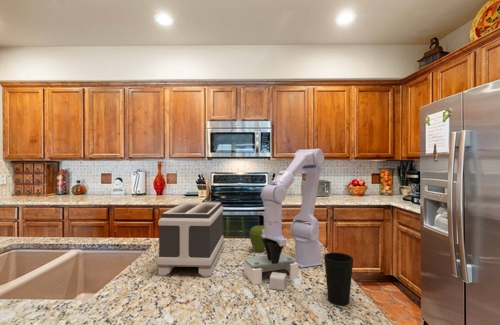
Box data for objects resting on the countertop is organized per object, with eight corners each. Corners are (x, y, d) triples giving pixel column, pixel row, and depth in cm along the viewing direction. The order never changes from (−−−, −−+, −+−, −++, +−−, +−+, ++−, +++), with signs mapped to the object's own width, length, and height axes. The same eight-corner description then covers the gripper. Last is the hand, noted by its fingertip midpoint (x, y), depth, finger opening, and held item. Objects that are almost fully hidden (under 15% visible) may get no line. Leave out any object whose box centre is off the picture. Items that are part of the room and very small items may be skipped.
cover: (285, 254, 95) (285, 252, 95) (295, 260, 88) (295, 258, 88) (244, 259, 90) (244, 257, 90) (251, 267, 83) (251, 264, 83)
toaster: (225, 246, 121) (225, 200, 121) (210, 278, 86) (211, 214, 87) (186, 245, 121) (186, 200, 122) (156, 276, 87) (156, 214, 87)
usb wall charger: (272, 283, 82) (272, 271, 82) (294, 287, 80) (294, 274, 80) (269, 289, 78) (269, 276, 78) (292, 293, 76) (292, 279, 76)
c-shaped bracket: (285, 267, 95) (285, 255, 95) (298, 277, 87) (298, 263, 87) (244, 273, 90) (244, 260, 90) (253, 285, 81) (253, 270, 81)
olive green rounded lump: (258, 246, 120) (258, 221, 120) (272, 250, 114) (273, 224, 114) (245, 251, 113) (245, 224, 114) (259, 255, 108) (259, 227, 108)
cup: (350, 310, 67) (350, 264, 67) (320, 302, 71) (320, 258, 71) (355, 298, 73) (355, 255, 74) (328, 291, 77) (328, 250, 78)
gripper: (254, 217, 92) (254, 256, 92) (271, 226, 79) (271, 271, 78) (272, 216, 95) (272, 253, 94) (291, 224, 81) (292, 268, 81)
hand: (273, 261), depth 87 cm, fingers closed on cover, 2 cm apart
